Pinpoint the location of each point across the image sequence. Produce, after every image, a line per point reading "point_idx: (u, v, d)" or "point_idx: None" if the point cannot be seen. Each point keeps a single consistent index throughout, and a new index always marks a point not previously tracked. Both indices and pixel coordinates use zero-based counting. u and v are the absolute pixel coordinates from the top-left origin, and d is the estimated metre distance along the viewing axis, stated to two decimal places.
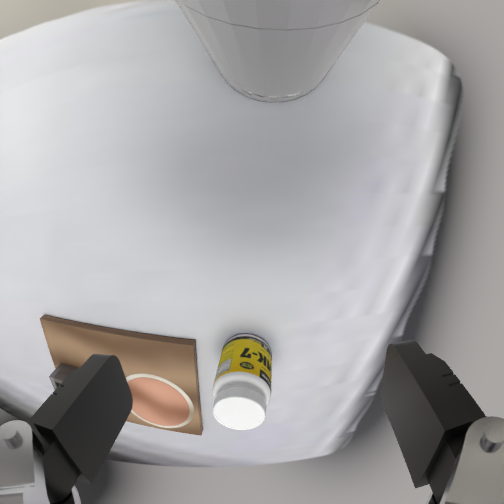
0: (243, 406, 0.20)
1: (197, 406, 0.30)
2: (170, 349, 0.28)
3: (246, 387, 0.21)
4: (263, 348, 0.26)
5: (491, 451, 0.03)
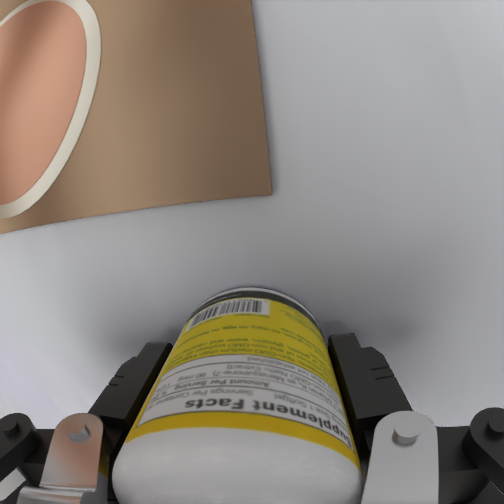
0: None
1: (20, 226, 0.08)
2: (231, 107, 0.07)
3: None
4: None
5: (399, 445, 0.04)
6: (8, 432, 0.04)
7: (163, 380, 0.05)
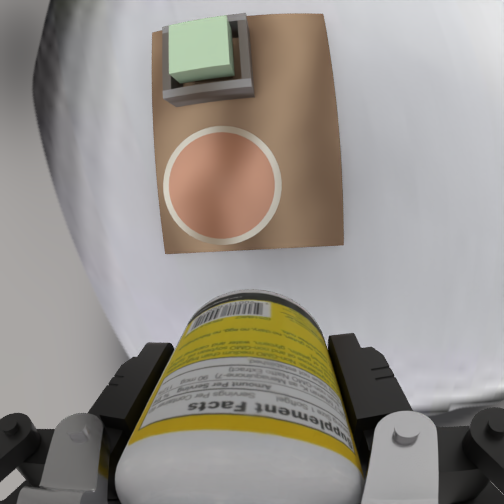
0: None
1: (231, 249, 0.23)
2: (333, 215, 0.22)
3: None
4: None
5: (399, 445, 0.04)
6: (8, 432, 0.04)
7: (165, 383, 0.05)
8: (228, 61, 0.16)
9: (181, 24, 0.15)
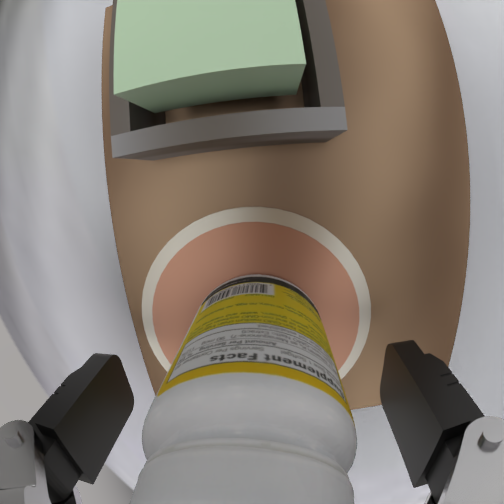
0: None
1: None
2: (438, 356, 0.11)
3: None
4: None
5: (489, 451, 0.03)
6: None
7: (187, 346, 0.07)
8: (301, 54, 0.05)
9: None
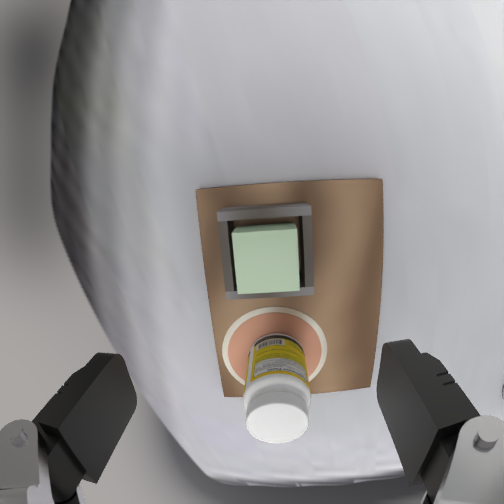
0: (293, 427, 0.17)
1: None
2: (365, 369, 0.25)
3: None
4: None
5: (484, 450, 0.03)
6: None
7: (256, 365, 0.20)
8: (298, 287, 0.18)
9: (246, 234, 0.18)
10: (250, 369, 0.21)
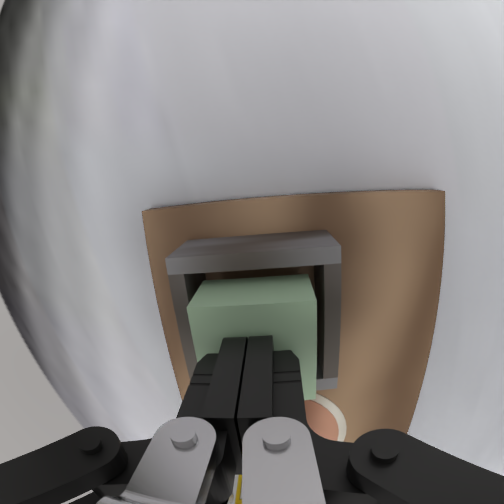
0: None
1: None
2: None
3: None
4: None
5: (263, 450, 0.04)
6: (86, 451, 0.04)
7: None
8: (314, 394, 0.09)
9: (215, 311, 0.09)
10: (236, 479, 0.12)
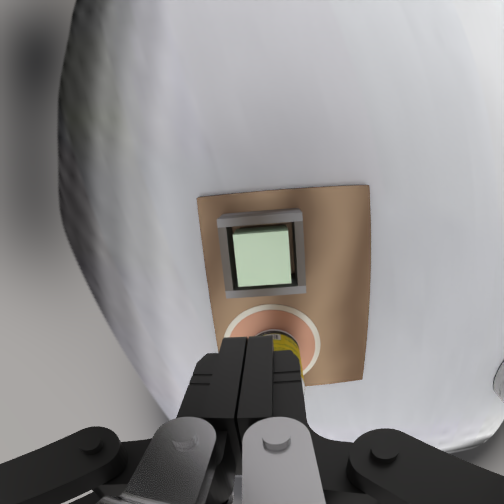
0: None
1: None
2: (356, 362, 0.27)
3: None
4: None
5: (263, 450, 0.04)
6: (86, 451, 0.04)
7: None
8: (290, 280, 0.22)
9: (245, 236, 0.21)
10: None
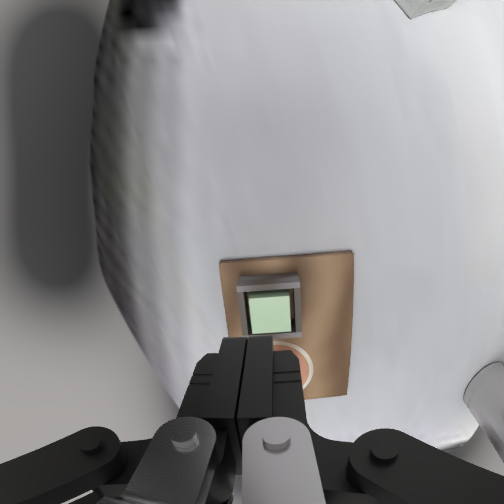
0: None
1: None
2: (342, 382, 0.35)
3: None
4: None
5: (263, 450, 0.04)
6: (86, 451, 0.04)
7: None
8: (290, 329, 0.29)
9: (258, 299, 0.28)
10: None
